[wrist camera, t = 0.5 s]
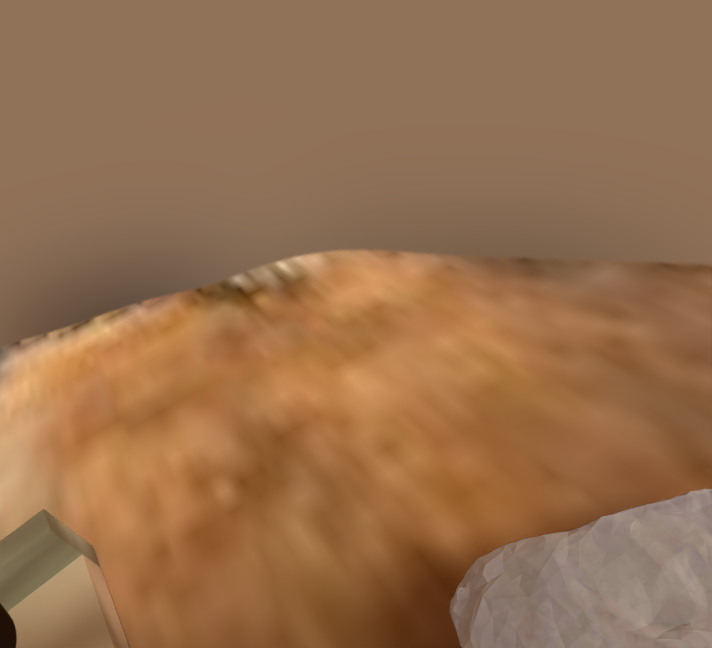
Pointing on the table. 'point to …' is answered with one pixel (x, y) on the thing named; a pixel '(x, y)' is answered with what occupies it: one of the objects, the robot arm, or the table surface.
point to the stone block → (597, 584)
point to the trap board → (56, 588)
